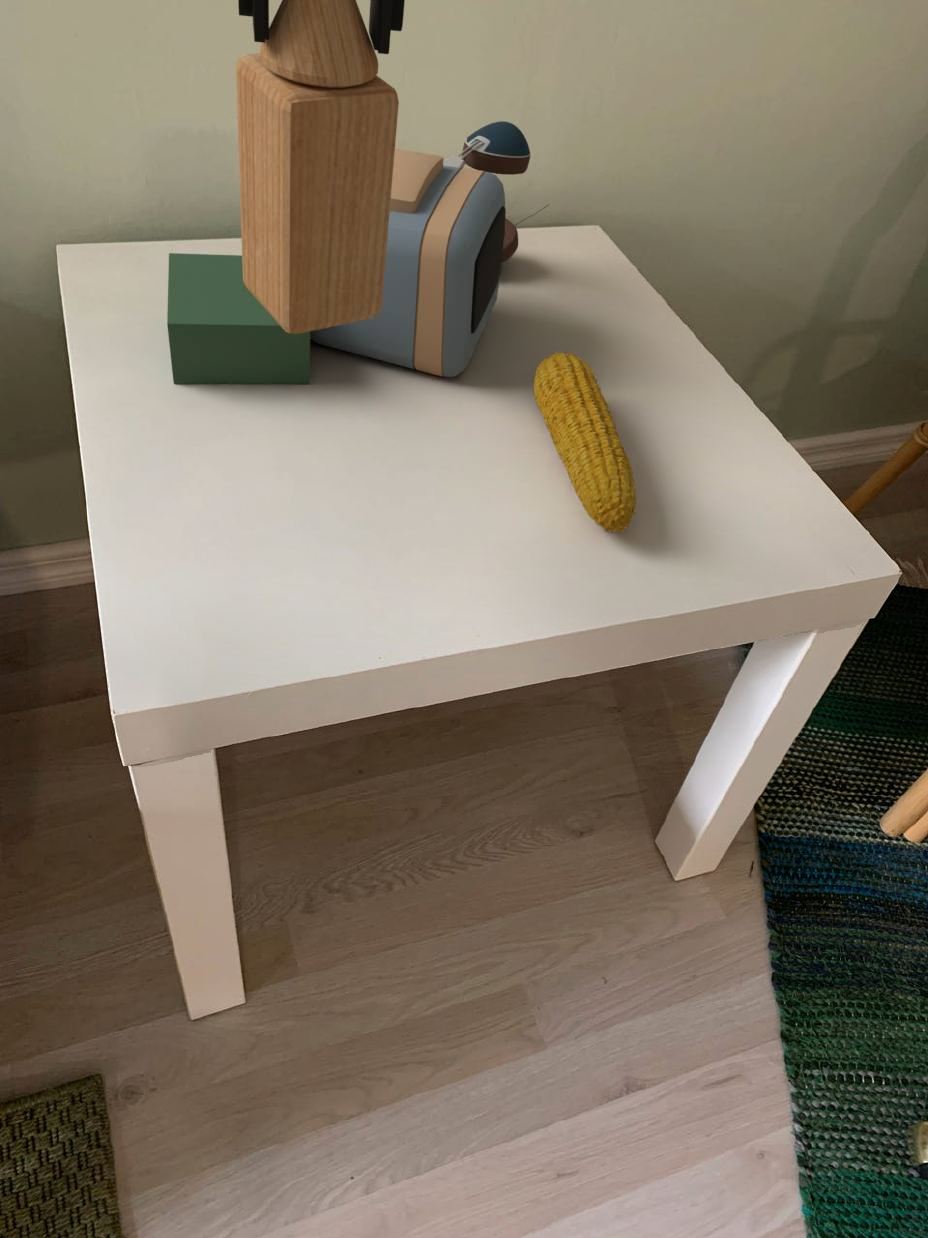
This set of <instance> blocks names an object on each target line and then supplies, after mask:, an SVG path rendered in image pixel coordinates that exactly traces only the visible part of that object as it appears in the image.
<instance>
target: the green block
mask: <svg viewBox="0 0 928 1238" xmlns="http://www.w3.org/2000/svg"><path fill="white" fill-rule="evenodd" d="M167 275H168V276H167V311H166V313H167V315H166V318H167V319H166V324H167V325H166V327H167V335H168V345H169V353H170V354H169V355H170V361H171V372H172V380H173V381H172V382H173V384H179V385H180V384H188V385H189V384H191V385H193V384H197V385H198V384H200V385H201V384H203V385H206V384H208V385H209V384H210V385H211V384H213V385H217V384H219V385H220V384H221V385H223V384H224V385H225V384H230V385H245V384H246V385H262V384H264V385H310V381H311V380H310V376H311V373H310V369H311V365H310V364H311V338H310V331H309V332H304V333H300V334H291V333H288V332H285V330H284V329H283V328H282V327H281V326H280V325H279V324H278V323H277V321H276V320H275V319H274V318H273V317H272V316H271V315H270V314H269V312H268V311H267V310H266V309H265V308H264V307H263V306H262V305H261V303H260V302H259V301H258V300H257V299H256V298H255V297H254V296H253V295H252V293H251V292H250V291H249V290H248V289H247V288H246V286H245V284H244V282H243V265H242V254H241V255H238V254H237V255H235V254H207V253H206V254H205V253H178V252H177V253H176V252H175V253H174V252H169V253H168V274H167Z"/></svg>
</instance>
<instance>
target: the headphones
mask: <svg viewBox="0 0 928 1238" xmlns="http://www.w3.org/2000/svg"><path fill="white" fill-rule="evenodd" d="M530 160H531V151H530V146H529V143H528V141H527V138H526V137H525V135H524V133H523V132H522V130H521V129H520V128H519V127H517V126H516V125H515V124H514V123H513V122H509V121H501V120H500V121H496V122H491V123H489V124H486V125H484V126H482V127H481V128H478V129H477V130H475V131H474V132H472V133H471V134H470V135H469V136H467V137H466V138H465V140H464V143H463V147H462V151H461V152H460V153H459V154H458V155H455V154H452V155H450V156H449V157H448V158H446V159H445V160H443V166H451V167H458V168H465V165H466V166H467V167H470V169H473V170H480V171H486V172H489V173H492V174H494V175H507V176H509V175H512V176H514V175H522V174H525V173H526V171H527V170H528V168H529V164H530ZM548 206H550V204H547V205H546V206H544V207H542V208H541V209H540V210H538V211H536V212H535V213H533V214H531V215H529V216H527V217H526V218H524V219H522V220H520V221H519V222H517V223H516V224H514V223H513V222H512V221H510V220H509V219H508V218H506V217H505V234H504V245H503V256H502V265H503V264H504V263H506V262H508V261H509V259H511V258H512V256H514V254H515V253H516V252H517V250H518V247H519V233H518V229H517V227H516V226H517V225H519V223H520V224H521V222H523V221H525V220H526V219H529V218H531V217H532V216H533V217H534V216H535V215H536V214H538V213H539V212H541V211H542V210H544V209H546V208H547V207H548Z"/></svg>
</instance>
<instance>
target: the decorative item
mask: <svg viewBox="0 0 928 1238" xmlns="http://www.w3.org/2000/svg"><path fill="white" fill-rule="evenodd" d="M378 73H379V60H378V56H377V54H376V50H374V47H373V44H372V41H371V38H370V34H369V31H368V29H367V27H366V24H365V21H364V18H363V16H362V13H361V10H360V7H359V5H358V1H357V0H281V2H280V4H279V6H278V8H277V10H276V13H275V14H274V16H273V19H272V21H271V23H270V24H269V40H265V43H262V42H261V44H260V53H246V54H243V55H241V56H239V57H237V60H236V63H235V78H236V80H235V81H236V82H235V83H236V108H237V109H236V110H237V111H236V112H237V113H236V115H237V144H238V169H239V170H238V172H239V173H238V174H239V197H240V198H239V199H240V200H239V201H240V202H239V203H240V205H239V206H240V230H241V231H240V232H241V233H240V234H241V256H242V265H243V282H244V284H245V286H246V288H247V289H248V290H249V291H250V292H251V293H252V295H253V296H254V297H255V298H256V299H257V300H258V301H259V302H260V303H261V305H262V306H263V307H264V308H265V309H266V310H267V311H268V312H269V314H270V315H271V316H272V317H273V318H274V319H275V320H276V321H277V323H278V324H279V325H280V326H281V327H282V328H283V329H284V330H285V332H288V333H291V334H300V333H304V332H309V331H314V330H318V329H323V328H328V327H332V326H337V325H342V324H346V323H351V322H355V321H360V320H365V319H369V318H374V317H376V316H377V315H379V313H380V311H381V309H382V297H383V285H384V273H385V261H386V249H387V237H388V225H389V213H390V201H391V189H392V177H393V165H394V153H395V149H396V140H397V128H398V116H399V104H400V101H399V96H398V93H397V90H396V89H395V87H393V86H392V85H390V84H389V83H387V82H386V81H385V80H384V79H382V78H381V77H380V76H379V75H378Z"/></svg>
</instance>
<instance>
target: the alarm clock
mask: <svg viewBox="0 0 928 1238" xmlns="http://www.w3.org/2000/svg"><path fill="white" fill-rule="evenodd" d="M444 159H445V158H444V157H443V156H441V155H437V154H431V153H424V152H418V151H412V150H406V149H399V148H395V153H394V165H393V177H392V189H391V201H390V213H389V225H388V237H387V249H386V261H385V273H384V285H383V297H382V309H381V311H380V313H379V315H377V316H376V317H374V318H369V319H365V320H360V321H355V322H351V323H346V324H342V325H337V326H332V327H328V328H323V329H318V330H314V331H310V340H311V341H313V342H315V343H317V344H318V345H321V346H325V347H329V348H332V349H335V350H340V351H343V352H348V353H351V354H355V355H359V356H363V357H366V358H370V359H375V360H378V361H382V362H386V363H390V364H393V365H397V366H401V367H404V368H408V369H412V370H416V371H419V372H423V373H428V374H431V375H435V376H439V377H444V378H454V377H457V376H458V375H459V374H461V373H462V372H464V371H465V369H467V366H468V365H469V363H470V360H471V358H472V356H473V353H474V351H475V349H476V347H477V344H478V343H479V341H480V338H481V336H482V333H483V331H484V329H485V327H486V325H487V322H488V320H489V318H490V316H491V314H492V311H493V309H494V307H495V304H496V302H497V299H498V292H499V285H500V279H501V273H502V265H503V264H502V256H503V245H504V234H505V218H506V214H507V213H506V212H507V209H506V193H505V187H504V183H502V181H501V179H500V178H499V177H498V176H497V174H495V173H489V172H486V171H480V170H476V169H473V168H465V167H463V168H458V167H451V166H443V162H444Z"/></svg>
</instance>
